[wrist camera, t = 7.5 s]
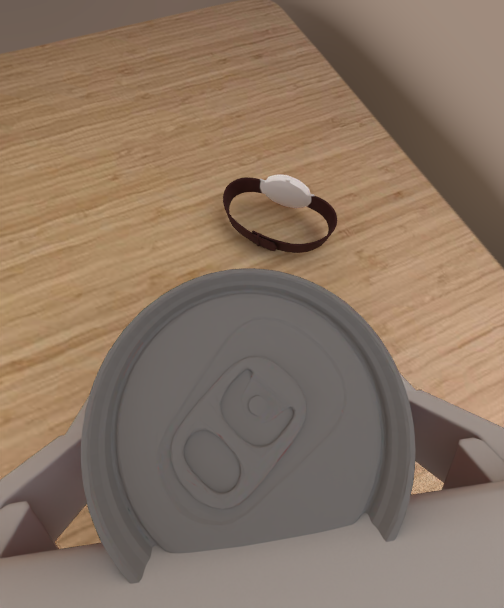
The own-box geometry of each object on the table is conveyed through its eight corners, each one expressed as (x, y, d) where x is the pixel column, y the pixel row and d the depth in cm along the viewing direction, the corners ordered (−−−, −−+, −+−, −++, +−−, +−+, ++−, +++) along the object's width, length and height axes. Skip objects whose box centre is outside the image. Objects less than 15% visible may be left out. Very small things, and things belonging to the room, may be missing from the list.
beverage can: (328, 403, 16) (532, 396, 5) (250, 509, 14) (277, 923, 3) (241, 327, 17) (238, 182, 6) (160, 414, 15) (-60, 434, 4)
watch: (334, 218, 20) (352, 180, 17) (318, 271, 19) (335, 241, 15) (237, 188, 21) (236, 147, 18) (214, 237, 20) (208, 201, 16)
